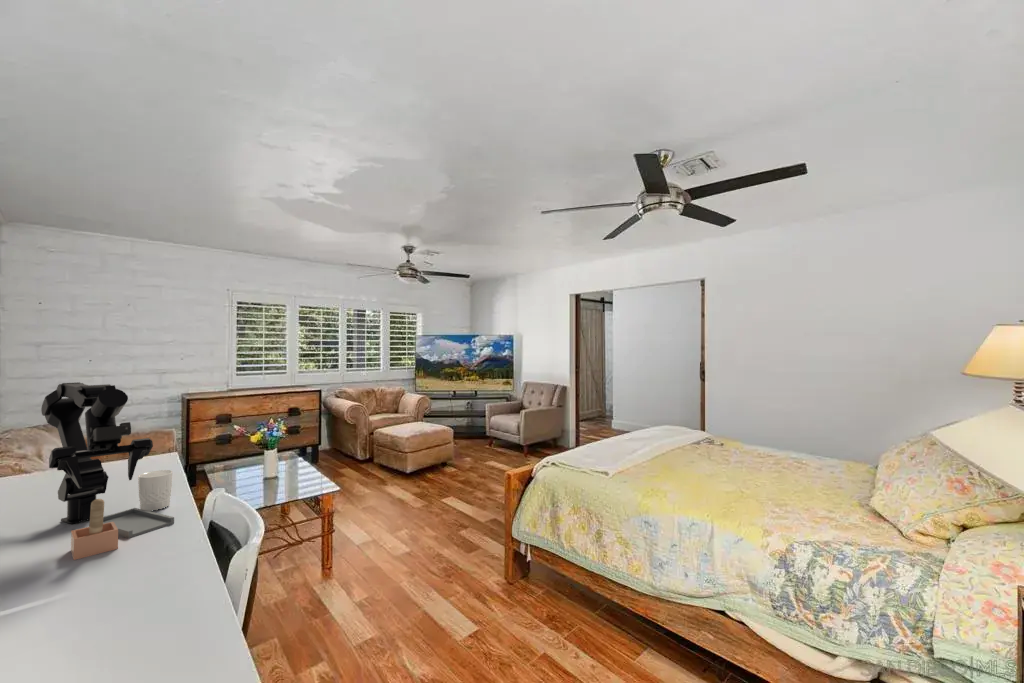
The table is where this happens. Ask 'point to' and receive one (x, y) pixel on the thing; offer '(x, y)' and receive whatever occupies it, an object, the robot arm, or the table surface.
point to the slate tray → (137, 521)
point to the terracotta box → (94, 541)
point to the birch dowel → (96, 516)
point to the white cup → (155, 489)
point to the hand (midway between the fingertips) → (106, 483)
